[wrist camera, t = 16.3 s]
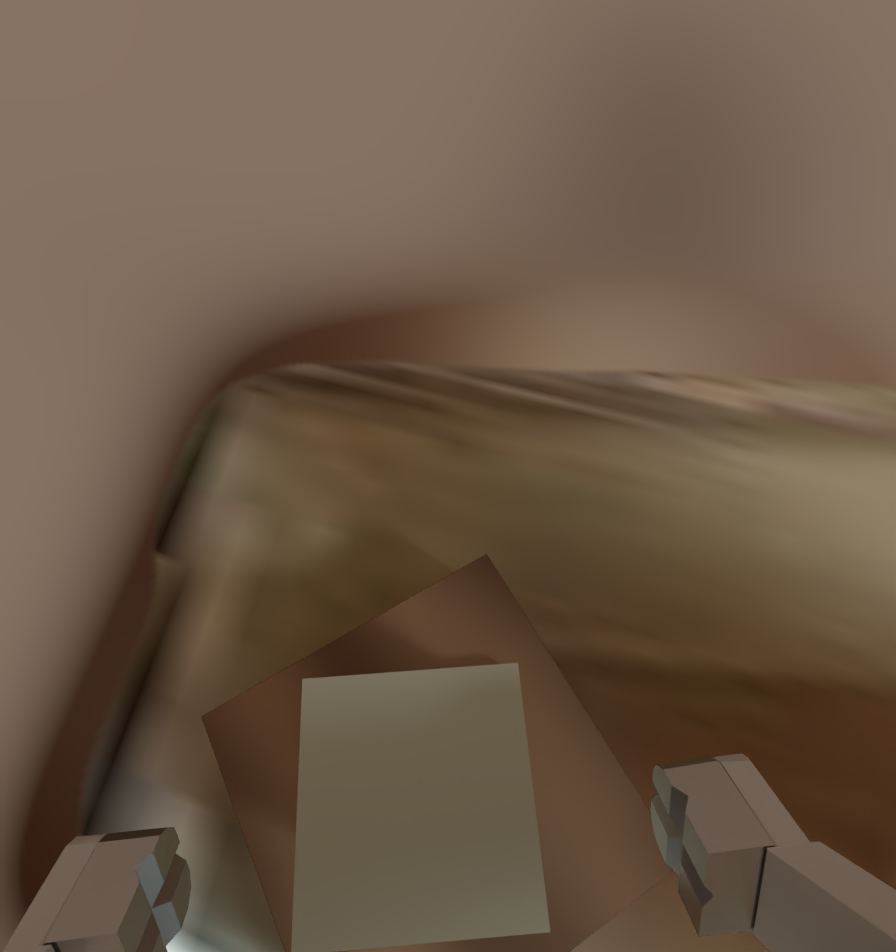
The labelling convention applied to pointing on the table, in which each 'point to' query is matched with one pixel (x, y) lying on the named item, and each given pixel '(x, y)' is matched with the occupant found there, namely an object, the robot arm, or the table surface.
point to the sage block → (415, 811)
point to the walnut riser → (549, 743)
